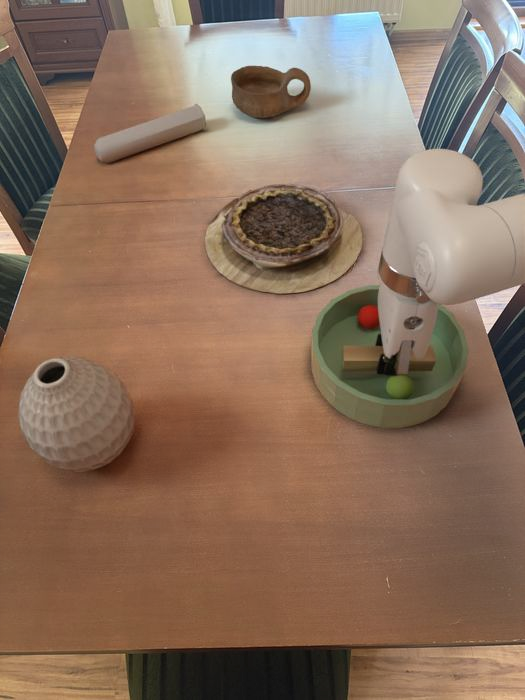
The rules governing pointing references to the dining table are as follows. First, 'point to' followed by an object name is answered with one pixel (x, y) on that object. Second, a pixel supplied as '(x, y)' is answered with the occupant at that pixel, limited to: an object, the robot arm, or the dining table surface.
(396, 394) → the grape
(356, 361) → the stick
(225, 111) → the dining table surface
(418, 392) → the mixing bowl
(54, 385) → the vase
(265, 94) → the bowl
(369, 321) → the tomato
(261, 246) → the pie
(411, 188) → the robot arm
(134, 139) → the tube
